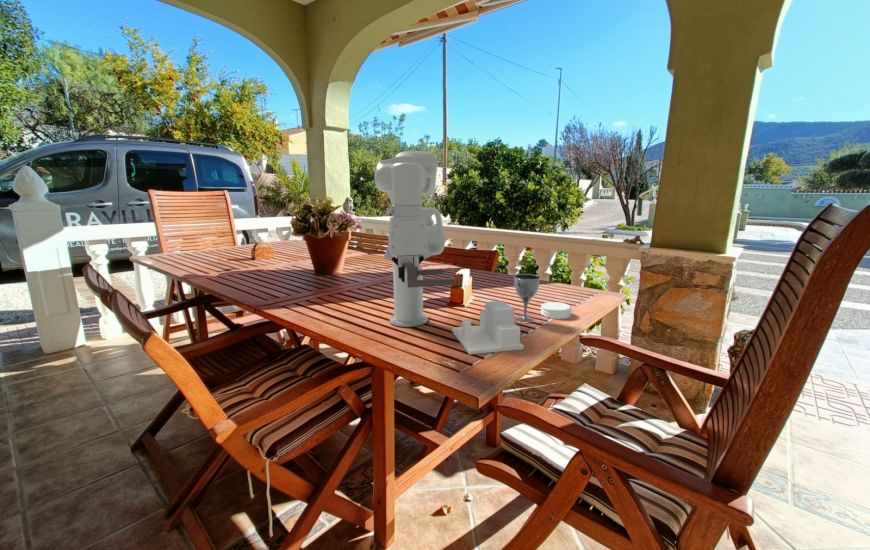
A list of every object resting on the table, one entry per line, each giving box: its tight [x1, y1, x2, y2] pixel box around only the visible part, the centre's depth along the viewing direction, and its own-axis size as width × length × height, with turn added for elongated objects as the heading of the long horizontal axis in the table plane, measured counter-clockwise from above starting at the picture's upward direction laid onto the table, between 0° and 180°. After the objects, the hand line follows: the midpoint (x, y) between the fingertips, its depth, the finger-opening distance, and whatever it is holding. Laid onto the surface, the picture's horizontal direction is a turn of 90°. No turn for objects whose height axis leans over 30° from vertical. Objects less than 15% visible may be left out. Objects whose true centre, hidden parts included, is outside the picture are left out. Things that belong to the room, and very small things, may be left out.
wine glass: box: [514, 273, 541, 322], centre depth 126 cm, size 8×8×15 cm
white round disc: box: [540, 301, 572, 320], centre depth 133 cm, size 10×10×4 cm
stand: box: [451, 300, 525, 356], centre depth 111 cm, size 16×18×10 cm
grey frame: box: [403, 258, 456, 288], centre depth 104 cm, size 12×14×5 cm
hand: (408, 280), depth 104 cm, fingers closed on grey frame
